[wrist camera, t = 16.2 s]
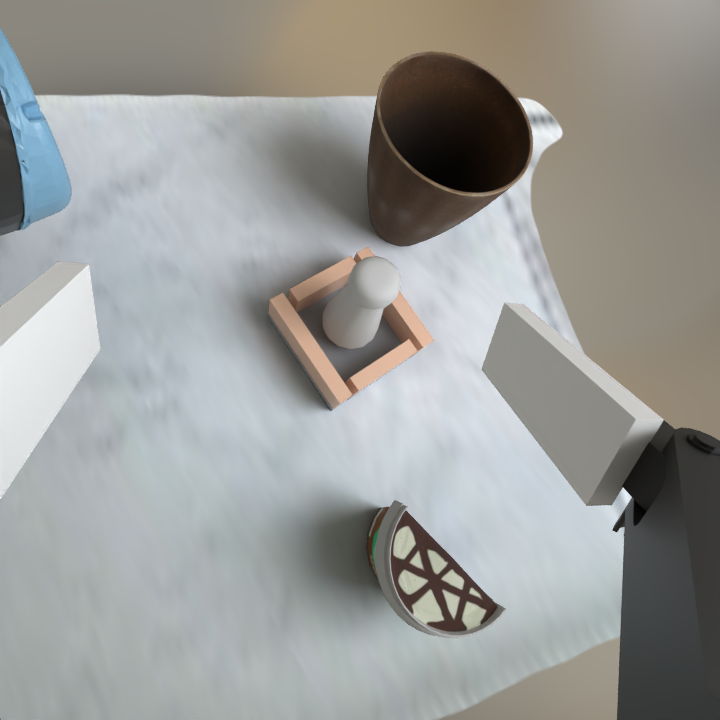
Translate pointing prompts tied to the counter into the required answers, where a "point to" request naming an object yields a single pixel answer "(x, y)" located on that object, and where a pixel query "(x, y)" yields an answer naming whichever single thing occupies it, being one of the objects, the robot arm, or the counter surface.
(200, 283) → the counter surface
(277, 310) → the socket board
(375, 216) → the plant pot
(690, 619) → the robot arm
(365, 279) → the salt shaker
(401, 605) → the food container
